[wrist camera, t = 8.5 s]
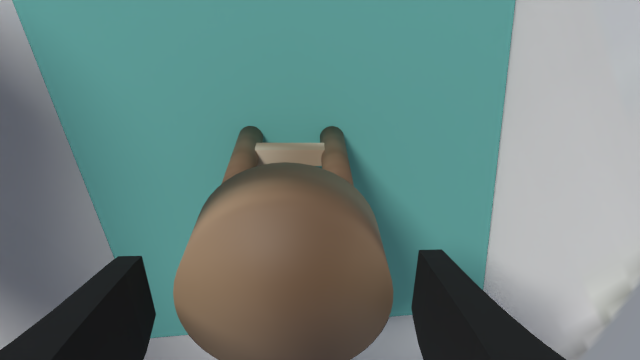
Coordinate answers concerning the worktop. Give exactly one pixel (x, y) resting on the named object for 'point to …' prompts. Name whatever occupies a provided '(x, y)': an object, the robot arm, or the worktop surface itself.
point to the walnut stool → (285, 257)
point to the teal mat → (280, 113)
